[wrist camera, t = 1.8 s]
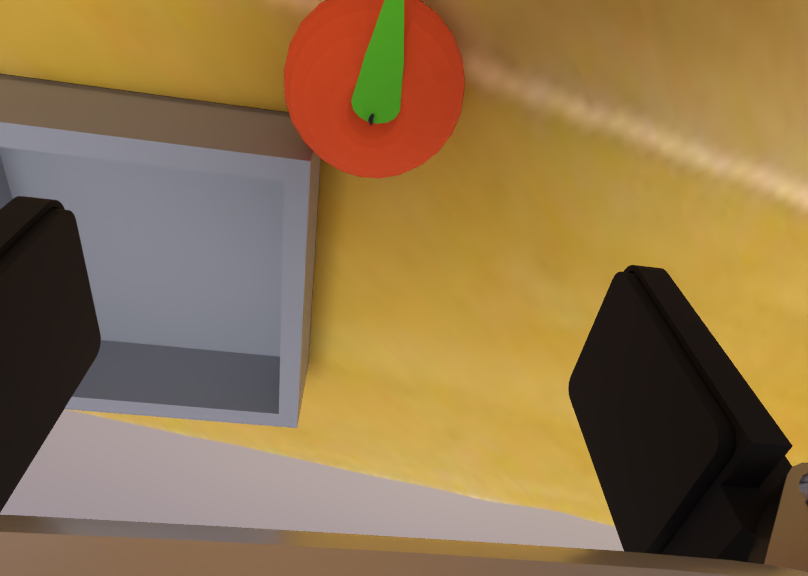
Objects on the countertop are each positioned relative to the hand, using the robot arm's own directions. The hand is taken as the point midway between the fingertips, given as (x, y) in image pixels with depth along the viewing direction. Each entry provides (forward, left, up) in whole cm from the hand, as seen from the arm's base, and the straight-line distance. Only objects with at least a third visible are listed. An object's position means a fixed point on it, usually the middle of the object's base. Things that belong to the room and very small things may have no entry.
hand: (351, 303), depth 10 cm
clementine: (0, 0, -18) cm, 18 cm away
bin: (+10, +11, -18) cm, 23 cm away
